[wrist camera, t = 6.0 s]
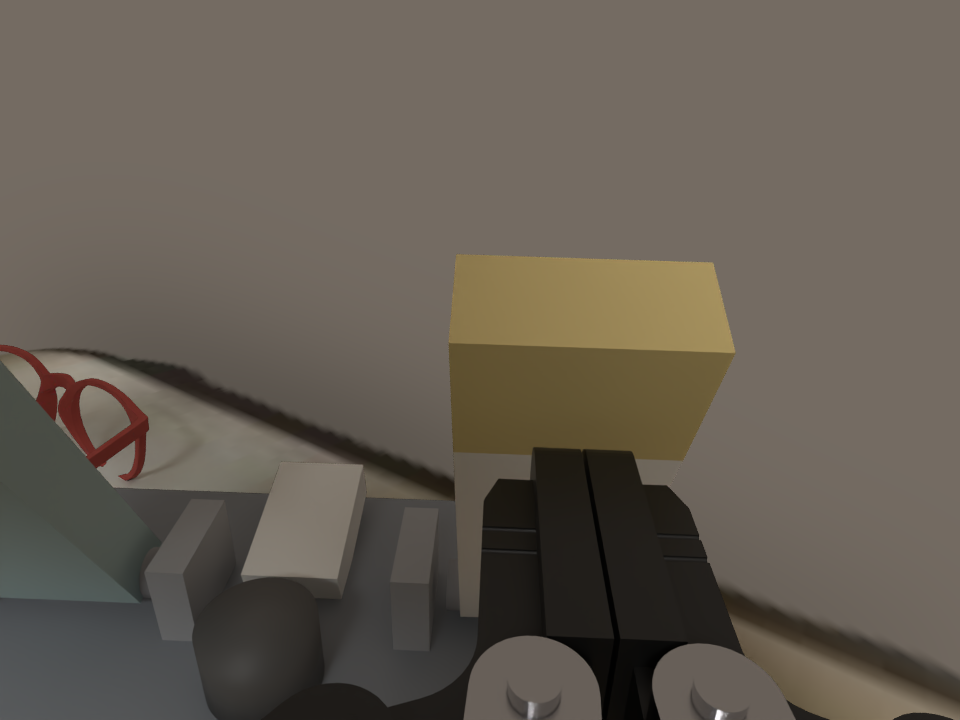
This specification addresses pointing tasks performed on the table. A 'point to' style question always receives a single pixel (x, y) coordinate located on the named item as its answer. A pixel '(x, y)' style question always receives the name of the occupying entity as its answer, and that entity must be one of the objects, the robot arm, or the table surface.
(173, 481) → the table surface
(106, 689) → the console
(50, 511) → the teal lever
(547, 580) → the robot arm
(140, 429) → the red eyeglasses
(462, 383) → the white and yellow lever
